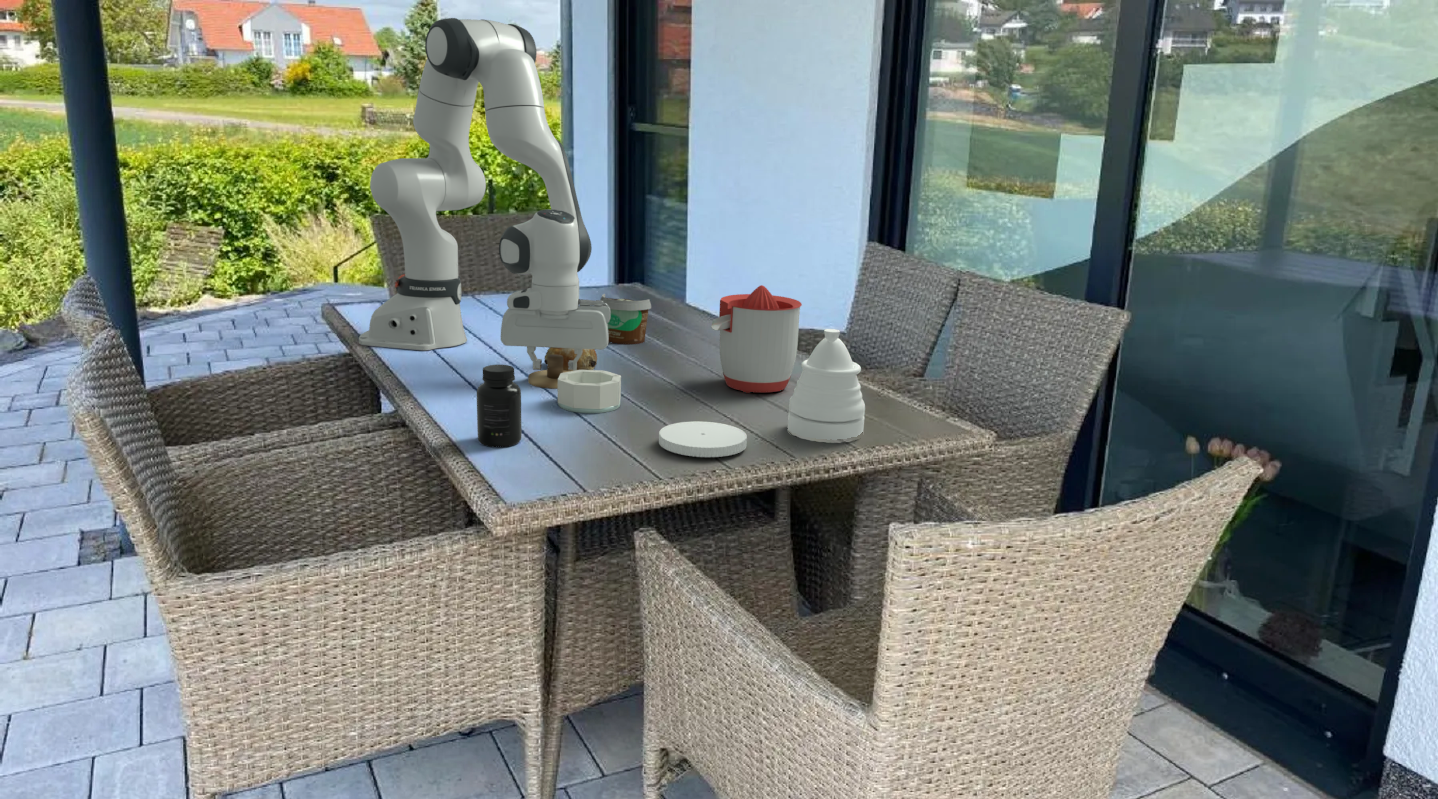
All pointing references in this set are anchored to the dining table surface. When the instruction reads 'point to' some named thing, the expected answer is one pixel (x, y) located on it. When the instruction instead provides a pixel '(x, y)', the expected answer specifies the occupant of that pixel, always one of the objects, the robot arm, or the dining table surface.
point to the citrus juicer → (758, 340)
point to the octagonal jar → (589, 391)
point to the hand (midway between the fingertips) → (554, 369)
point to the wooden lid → (548, 373)
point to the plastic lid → (702, 439)
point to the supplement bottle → (499, 407)
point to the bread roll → (584, 362)
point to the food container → (627, 320)
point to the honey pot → (827, 393)
